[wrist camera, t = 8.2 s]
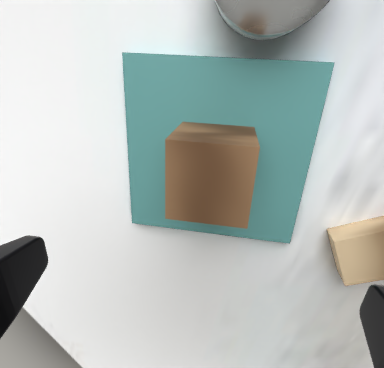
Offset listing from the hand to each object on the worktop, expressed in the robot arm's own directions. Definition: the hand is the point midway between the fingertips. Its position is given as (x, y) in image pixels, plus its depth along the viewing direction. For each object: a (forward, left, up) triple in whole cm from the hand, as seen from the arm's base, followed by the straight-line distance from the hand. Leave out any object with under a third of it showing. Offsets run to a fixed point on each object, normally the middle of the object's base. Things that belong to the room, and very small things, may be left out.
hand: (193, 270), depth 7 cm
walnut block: (0, 0, -11) cm, 11 cm away
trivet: (0, 0, -12) cm, 12 cm away
